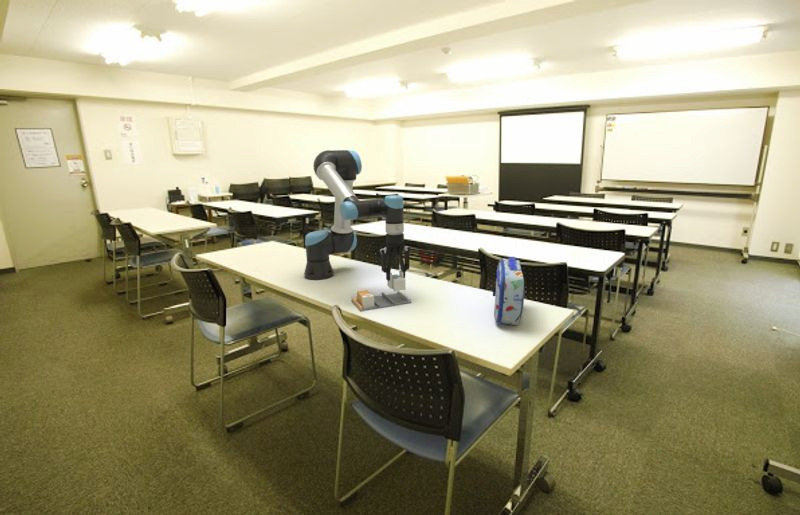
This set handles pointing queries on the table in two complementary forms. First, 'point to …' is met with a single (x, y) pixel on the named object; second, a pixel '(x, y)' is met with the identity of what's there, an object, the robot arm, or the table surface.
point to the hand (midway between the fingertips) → (396, 286)
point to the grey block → (398, 283)
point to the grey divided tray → (385, 301)
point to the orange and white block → (365, 299)
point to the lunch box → (509, 292)
